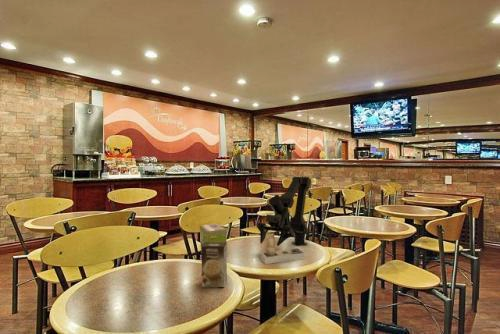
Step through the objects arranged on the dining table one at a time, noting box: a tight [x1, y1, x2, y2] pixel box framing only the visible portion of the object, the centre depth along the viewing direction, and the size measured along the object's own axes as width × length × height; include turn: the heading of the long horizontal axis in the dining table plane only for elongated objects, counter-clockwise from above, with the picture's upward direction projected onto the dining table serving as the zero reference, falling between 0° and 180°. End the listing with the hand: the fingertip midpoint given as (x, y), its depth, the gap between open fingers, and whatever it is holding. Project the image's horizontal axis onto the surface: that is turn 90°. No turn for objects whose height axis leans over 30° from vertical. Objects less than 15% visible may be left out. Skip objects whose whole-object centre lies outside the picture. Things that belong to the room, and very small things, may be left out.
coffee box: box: [200, 242, 228, 288], centre depth 115 cm, size 9×6×16 cm
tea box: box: [199, 223, 228, 254], centre depth 152 cm, size 15×10×15 cm, turn 25°
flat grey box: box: [259, 248, 306, 265], centre depth 143 cm, size 8×20×3 cm, turn 106°
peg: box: [265, 232, 276, 257], centre depth 141 cm, size 4×4×13 cm
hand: (269, 244), depth 140 cm, fingers open, 9 cm apart
